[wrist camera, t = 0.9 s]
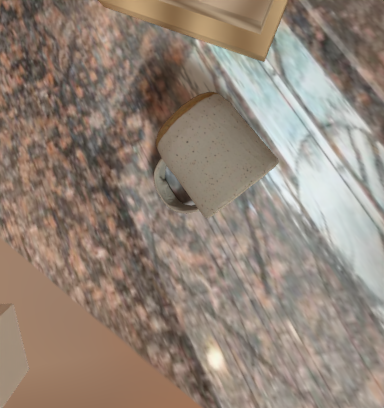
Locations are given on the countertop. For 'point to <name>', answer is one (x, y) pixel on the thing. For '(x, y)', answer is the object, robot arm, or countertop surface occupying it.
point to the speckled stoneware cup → (209, 155)
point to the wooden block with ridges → (213, 20)
